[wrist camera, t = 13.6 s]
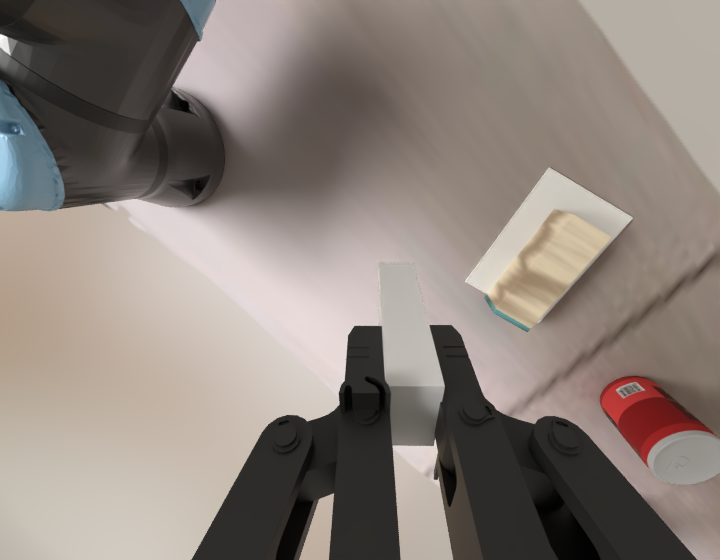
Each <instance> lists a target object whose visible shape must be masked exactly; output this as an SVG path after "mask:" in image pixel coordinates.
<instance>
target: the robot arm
mask: <svg viewBox="0 0 720 560" xmlns="http://www.w3.org/2000/svg"><path fill="white" fill-rule="evenodd" d="M215 2H216V0H0V210H4V211H27V210H43V211H54V210H57V209H62V208H70V207H77V206H84V205H92V204H99V203H107V202H114V201H122V200H129V199H140V200H143V201H147V202H151V203H154V204H158V205H162V206H166V207H183V206H189V205H194V204H197V203H199V202H202V201H203V200H205V199H206V198H208V197H209V196H210V195H211V194H212V193H213V192H214V191H215V189H216V188H217V186H218V184H219V182H220V180H221V178H222V174H223V170H224V160H225V156H224V147H223V142H222V138H221V135H220V132H219V130H218V127H217V125H216V123H215V122H214V120H213V118H212V117H211V115H210V114H209V112H208V111H207V110H206V109H205V108H204V106H203V105H202V104H201V103H200V102H198V101H197V100H196V99H195V98H193V97H192V96H191V95H189V94H187V93H185V92H183V91H181V90H179V89H176V88H173V87H172V86H173V84H174V83H175V81H176V79H177V77H178V75H179V74H180V72H181V70H182V68H183V66H184V65H185V63H186V61H187V59H188V57H189V56H190V54H191V52H192V50H193V48H194V47H195V45H196V43H197V41H198V42H199V41H201V40H202V35H203V28H204V26H205V24H206V22H207V20H208V18H209V16H210V14H211V12H212V10H213V8H214V5H215ZM378 321H379V326H354V328H353V329H352V331H351V332H350V334H349V335H348V345H347V359H346V372H345V381H344V382H343V384H342V385H341V388H340V391H339V401H340V405H339V406H338V407H337V408H336V409H335V410H334V411H333V412H331V413H330V414H328V415H326V416H323V417H321V418H318V419H314V420H311V421H308V422H307V421H306V420H305V419H303V418H301V417H299V416H297V415H296V416H295V415H286V416H283V417H279V418H277V419H276V420H274V421H273V422H271V423H270V424H268V426H267V427H266V428H265V430H264V431H263V432H262V434H261V435H260V437H259V439H258V441H257V443H256V445H255V446H254V448H253V450H252V452H251V454H250V455H249V457H248V459H247V461H246V463H245V464H244V466H243V468H242V470H241V472H240V473H239V475H238V477H237V479H236V481H235V482H234V484H233V486H232V488H231V490H230V491H229V493H228V495H227V497H226V499H225V500H224V502H223V504H222V506H221V508H220V510H219V511H218V513H217V515H216V517H215V518H214V520H213V522H212V524H211V526H210V527H209V529H208V531H207V533H206V535H205V537H204V538H203V540H202V542H201V544H200V546H199V547H198V549H197V551H196V553H195V555H194V556H193V558H192V560H299V558H300V555H301V552H302V549H303V546H304V543H305V540H306V536H307V534H308V531H309V527H310V524H311V521H312V518H313V516H314V512H315V509H316V506H317V503H318V500H319V499H320V498H322V497H325V496H328V495H330V494H333V493H334V503H333V515H332V529H331V541H330V554H329V560H400V546H399V532H398V518H397V506H396V490H395V477H394V464H393V463H394V462H393V448H392V445H409V446H434V440H435V438H436V443H437V449H438V455H437V460H436V464H435V469H434V480H438V476H439V481H440V487H441V493H442V498H443V504H444V509H445V514H446V520H447V526H448V532H449V537H450V543H451V549H452V554H453V560H697V559H696V558H695V557H694V556H693V555H692V553H691V552H690V551H689V550H688V549H687V548H686V547H685V545H684V544H683V543H682V542H681V541H680V540H679V539H678V537H677V536H676V535H675V534H674V533H673V532H672V531H671V530H670V528H669V527H668V526H667V525H666V524H665V523H664V522H663V520H662V519H661V518H660V517H659V516H658V515H657V514H656V512H655V511H654V510H653V509H652V508H651V507H650V506H649V504H648V503H647V502H646V501H645V500H644V499H643V498H642V497H641V495H640V494H639V493H638V492H637V491H636V490H635V489H634V487H633V486H632V485H631V484H630V483H629V482H628V481H627V479H626V478H625V477H624V476H623V475H622V474H621V473H620V471H619V470H618V469H617V468H616V467H615V466H614V465H613V464H612V462H611V461H610V460H609V459H608V458H607V457H606V456H605V454H604V453H603V452H602V451H601V450H600V449H599V448H598V446H597V445H596V444H595V443H594V442H593V441H592V440H591V439H590V437H589V436H588V435H587V434H586V433H585V432H584V431H583V430H581V429H580V428H579V427H578V426H577V425H575V424H573V423H572V422H570V421H568V420H566V419H563V418H559V417H556V416H545V417H543V418H541V419H539V420H537V422H536V424H532V423H529V422H525V421H522V420H518V419H515V418H512V417H509V416H506V415H504V414H502V413H501V412H499V411H497V410H496V409H495V407H494V405H492V404H491V403H490V402H489V401H488V400H487V399H485V397H484V395H483V393H482V391H481V388H480V386H479V383H478V380H477V377H476V375H475V372H474V369H473V367H472V364H471V361H470V358H468V353H467V350H466V348H465V345H464V342H463V340H462V337H461V335H460V334H459V333H458V331H457V330H456V329H455V328H454V327H453V326H452V325H429V322H428V318H427V314H426V310H425V306H424V302H423V298H422V294H421V290H420V286H419V283H418V279H417V275H416V271H415V267H414V263H379V290H378Z"/></svg>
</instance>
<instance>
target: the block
mask: <svg viewBox="0 0 720 560" xmlns="http://www.w3.org/2000/svg"><path fill="white" fill-rule="evenodd" d="M611 238H612V237H611V236H609V235H607V234H606V233H604V232H602V231H601V230H599V229H597V228H596V227H594V226H592V225H591V224H589V223H587V222H586V221H584V220H582V219H581V218H579V217H577V216H576V215H574V214H570V213H566V212H563V211H559V210H556V209H553V211H552V212H551V213H550V215H549V216H548V217H547V218H546V220H545V221H544V222H543V223H542V225H541V226H540V227H539V229H538V230H537V231H536V232H535V234H534V235H533V236H532V237H531V239H530V240H529V241H528V243H527V244H526V245H525V246H524V248H523V249H522V250H521V252H520V253H519V254H518V255H517V257H516V258H515V259H514V260H513V262H512V263H511V264H510V266H509V267H508V268H507V269H506V271H505V272H504V273H503V274H502V276H501V277H500V278H499V280H498V281H497V282H496V283H495V285H494V286H493V287H492V288H491V290H490V291H489V292H488V294H487V295H486V296H485V297H484V298H485V299H486V301H487V303H488V304H489V306H490V308H491V309H492V311H493V313H495V314H496V315H498V316H500V317H502V318H503V319H505V320H507V321H509V322H510V323H512V324H514V325H516V326H517V327H519V328H521V329H523V330H524V331H526V332H528V331H529V330H530V329H531V328H532V327H533V325H534V324H535V323H536V322H537V321H538V320H539V319H540V318H541V317H542V315H543V314H544V313H545V312H546V311H547V310H548V309H549V308H550V306H551V305H552V304H553V303H554V302H555V301H556V300H557V299H558V297H559V296H560V295H561V294H562V293H563V292H564V291H565V290H566V289H567V287H568V286H569V285H570V284H571V283H572V282H573V281H574V280H575V278H576V277H577V276H578V275H579V274H580V273H581V272H582V271H583V269H584V268H585V267H586V266H587V265H588V264H589V263H590V262H591V260H592V259H593V258H594V257H595V256H596V255H597V254H598V253H599V252H600V250H601V249H602V248H603V247H604V246H605V245H606V244H607V243H608V241H609V240H610V239H611Z"/></svg>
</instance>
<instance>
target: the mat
mask: <svg viewBox="0 0 720 560" xmlns="http://www.w3.org/2000/svg"><path fill="white" fill-rule="evenodd" d="M553 209H556V210H559V211H563V212H566V213H570V214H574V215H576V216H577V217H579V218H581V219H582V220H584V221H586V222H587V223H589V224H591V225H592V226H594V227H596V228H597V229H599V230H601V231H602V232H604V233H606V234H607V235H609V236H611V237H612V238H611V239H610V240H609V241H608V243H607V244H606V245H605V246H604V247H603V248H602V249H601V250H600V252H599V253H598V254H597V255H596V256H595V257H594V258H593V259H592V260H591V262H590V263H589V264H588V265H587V266H586V267H585V268H584V269H583V271H582V272H581V273H580V274H579V275H578V276H577V277H576V278H575V280H574V281H573V282H572V283H571V284H570V285H569V286H568V287H567V289H566V290H565V291H564V292H563V293H562V294H561V295H560V296H559V297H558V299H557V300H556V301H555V302H554V303H553V304H552V305H551V306H550V308H549V309H548V310H547V311H546V312H545V313H544V314H543V315H542V317H541V318H540V319H539V320H538V321H537V322H536V323H538V324H539V323H540V321H541V320H542V319H543V318H544V317H545V316H546V315H547V314H548V313H549V311H550V310H551V309H552V308H553V307H554V306H555V305H556V304H557V302H558V301H559V300H560V299H561V298H562V297H563V296H564V295H565V294H566V292H567V291H568V290H569V289H570V288H571V287H572V286H573V285H574V283H575V282H576V281H577V280H578V279H579V278H580V277H581V276H582V275H583V273H584V272H585V271H586V270H587V269H588V268H589V267H590V266H591V264H592V263H593V262H594V261H595V260H596V259H597V258H598V257H599V256H600V254H601V253H602V252H603V251H604V250H605V249H606V248H607V247H608V245H609V244H610V243H611V242H612V241H613V240H614V239H615V238H616V237H617V235H618V234H619V233H620V232H621V231H622V230H623V229H624V228H625V227H626V225H627V224H628V223H629V222H630V221H631V220H632V219H633V217H631V216H629V215H628V214H626V213H624V212H623V211H621V210H619V209H618V208H616V207H614V206H613V205H611V204H609V203H608V202H606V201H604V200H603V199H601V198H599V197H598V196H596V195H594V194H593V193H591V192H589V191H588V190H586V189H584V188H583V187H581V186H580V185H578V184H576V183H575V182H573V181H571V180H570V179H568V178H566V177H565V176H563V175H561V174H560V173H558V172H556V171H555V170H553V169H551V168H548V169H547V170H546V172H545V173H544V175H543V176H542V177H541V179H540V180H539V181H538V183H537V184H536V185H535V187H534V188H533V190H532V191H531V192H530V194H529V195H528V196H527V198H526V199H525V200H524V202H523V203H522V204H521V206H520V207H519V209H518V210H517V211H516V213H515V214H514V215H513V217H512V218H511V219H510V221H509V222H508V223H507V225H506V226H505V228H504V229H503V230H502V232H501V233H500V234H499V236H498V237H497V238H496V240H495V241H494V242H493V244H492V245H491V247H490V248H489V249H488V251H487V252H486V253H485V255H484V256H483V257H482V259H481V260H480V261H479V263H478V264H477V266H476V267H475V268H474V270H473V271H472V272H471V274H470V275H469V276H468V278H467V279H466V280H465V282H466V283H468V284H470V285H472V286H473V287H475V288H477V289H479V290H480V291H482V292H484V293H486V294H488V292H489V291H490V290H491V288H492V287H493V286H494V285H495V283H496V282H497V281H498V280H499V278H500V277H501V276H502V274H503V273H504V272H505V271H506V269H507V268H508V267H509V266H510V264H511V263H512V262H513V260H514V259H515V258H516V257H517V255H518V254H519V253H520V252H521V250H522V249H523V248H524V246H525V245H526V244H527V243H528V241H529V240H530V239H531V237H532V236H533V235H534V234H535V232H536V231H537V230H538V229H539V227H540V226H541V225H542V223H543V222H544V221H545V220H546V218H547V217H548V216H549V215H550V213H551V212H552V211H553Z"/></svg>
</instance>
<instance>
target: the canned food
mask: <svg viewBox="0 0 720 560" xmlns="http://www.w3.org/2000/svg"><path fill="white" fill-rule="evenodd" d="M600 403H601V407H602V410H603V412H604V413H605V414H606V416H607V417H608V418H609V419H610V421H611V422H612V423H613V424H614V426H615V427H616V428H617V429H618V431H619V432H620V433H621V434H622V436H623V437H624V438H625V439H626V441H627V442H628V443H629V444H630V446H631V447H632V448H633V449H634V451H635V452H636V453H637V454H638V456H639V457H640V458H641V459H642V461H643V462H644V463H645V464H646V465H647V467H648V468H649V469H650V470H651V471H652V473H653V474H655V475H656V477H658V478H659V479H660V480H662V481H664V482H666V483H670V484H674V485H691V484H697V483H701V482H704V481H706V480H709V479H711V478H713V477H714V476H716V475H717V474H719V473H720V438H718V437H717V436H716V435H715V434H714V433H713V432H712V431H711V430H709V429H708V428H707V427H706V426H705V425H704V424H702V423H701V422H700V421H699V420H698V419H697V418H695V417H694V416H693V415H692V414H691V413H690V412H688V411H687V410H686V409H685V408H684V407H683V406H681V405H680V404H679V403H678V402H677V401H676V400H674V399H673V398H672V397H671V396H670V395H669V394H667V393H666V392H665V391H664V390H663V389H662V388H660V387H659V386H658V385H657V384H655V383H654V382H652V381H650V380H648V379H646V378H643V377H638V376H628V377H623V378H620V379H617V380H615V381H614V382H612V383H610V384H609V385H608V386H607V387H606V388H605V389H604V391H603V392H602V394H601V397H600Z"/></svg>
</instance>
